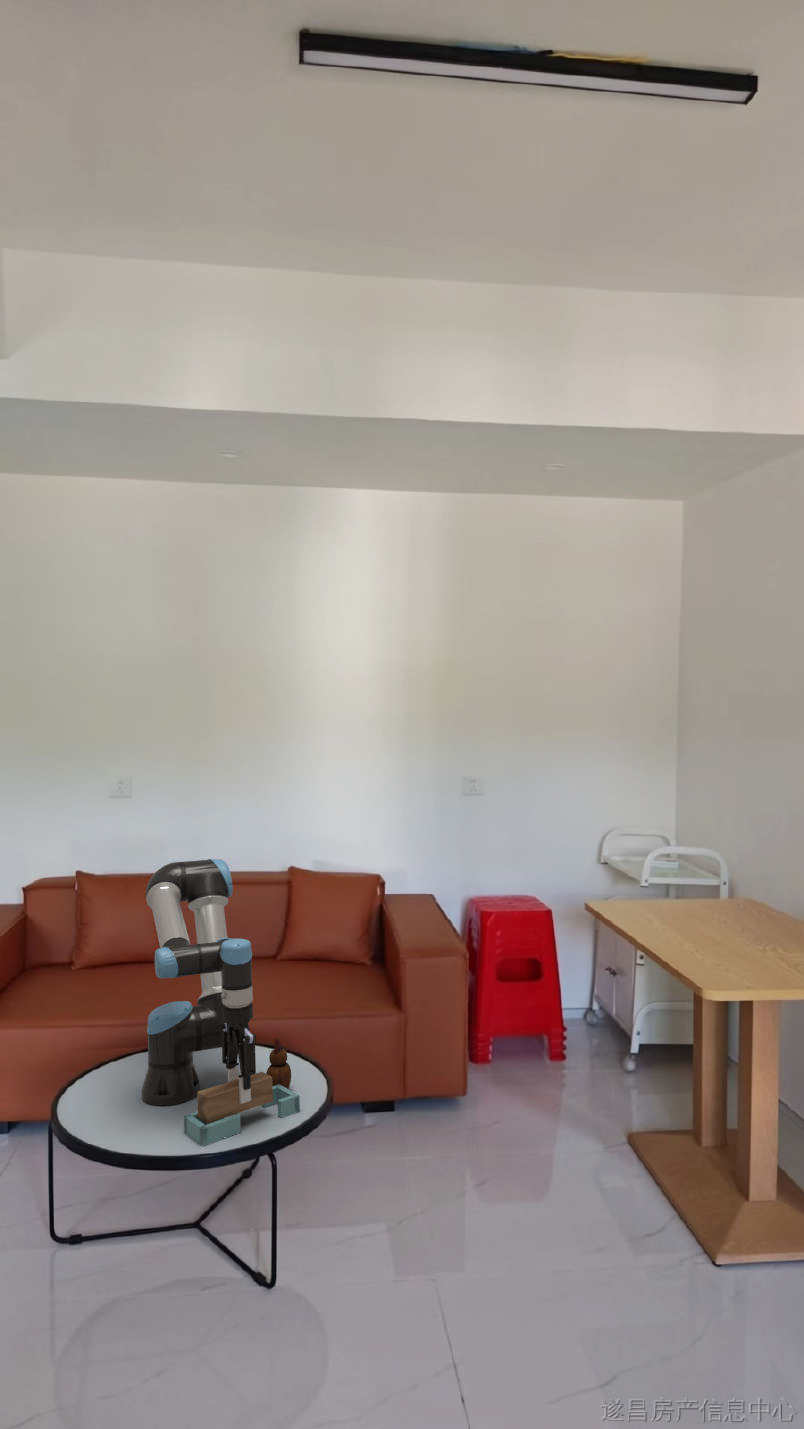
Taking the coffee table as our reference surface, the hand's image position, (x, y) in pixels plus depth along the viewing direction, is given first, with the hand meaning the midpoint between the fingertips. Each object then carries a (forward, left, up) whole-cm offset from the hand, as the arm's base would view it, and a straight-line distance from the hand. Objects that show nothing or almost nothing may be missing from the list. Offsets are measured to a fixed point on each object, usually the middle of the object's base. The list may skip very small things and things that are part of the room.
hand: (239, 1098), depth 212 cm
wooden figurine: (-9, +17, -6) cm, 20 cm away
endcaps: (0, +1, -6) cm, 6 cm away
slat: (0, -1, -2) cm, 3 cm away
